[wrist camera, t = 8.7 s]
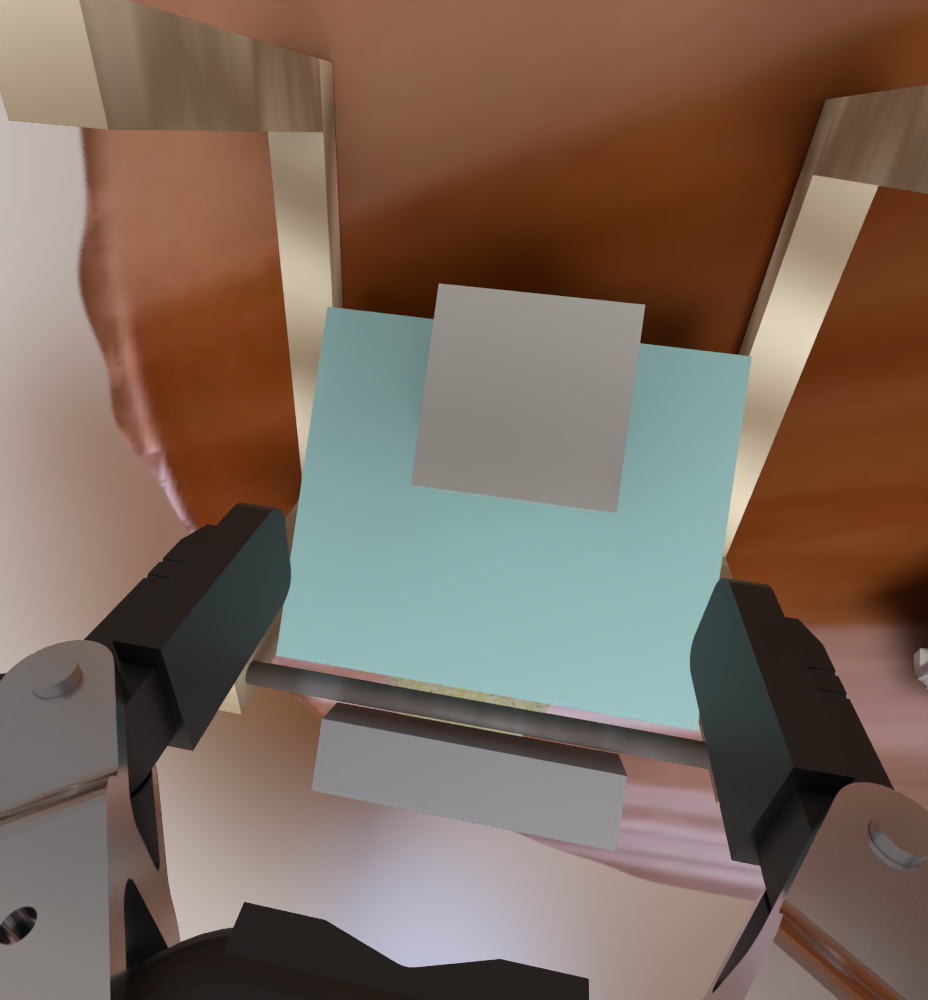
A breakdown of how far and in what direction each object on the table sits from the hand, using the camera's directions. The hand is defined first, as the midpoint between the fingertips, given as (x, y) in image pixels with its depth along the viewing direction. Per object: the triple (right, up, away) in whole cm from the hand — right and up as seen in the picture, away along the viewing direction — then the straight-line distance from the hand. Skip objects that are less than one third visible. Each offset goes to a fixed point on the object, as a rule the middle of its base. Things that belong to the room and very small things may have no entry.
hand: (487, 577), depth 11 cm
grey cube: (+1, +4, +8) cm, 9 cm away
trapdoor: (+1, -1, +9) cm, 9 cm away
